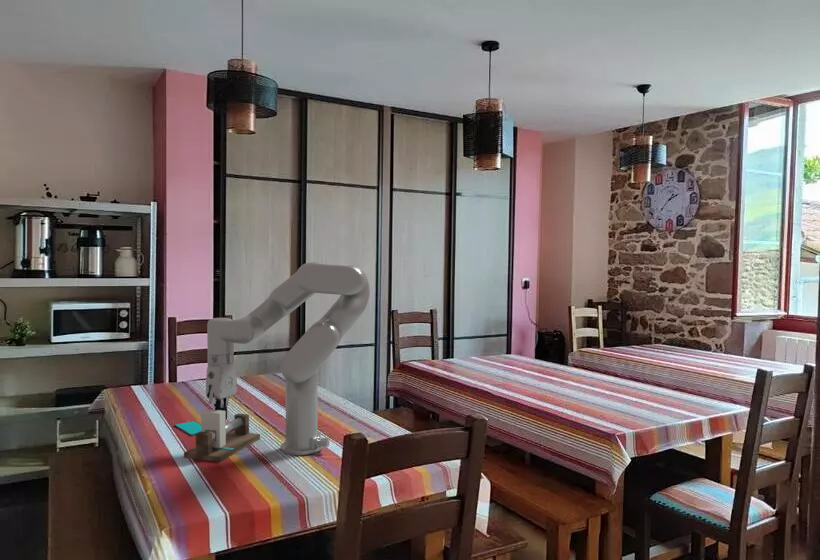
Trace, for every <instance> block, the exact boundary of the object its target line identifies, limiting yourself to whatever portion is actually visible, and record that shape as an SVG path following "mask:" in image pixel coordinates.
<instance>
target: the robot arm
mask: <svg viewBox="0 0 820 560" xmlns="http://www.w3.org/2000/svg"><path fill="white" fill-rule="evenodd" d="M370 289H371V288H370V282H369V279H368V277H367V275H366V273H365V271H364V270H363V268H361V267H359V266H357V265H353V264H352V265H351V264H350V265H339V264H338V265H337V264H326V263H325V264H323V263H318V262H315V261H313V262H306V263H303V264H302V265H300V267H299V268H298V269H297V270H296V272H294V273H293V274H291V276H290V277H288V278H287V279H286V280H284V281H283V282H282V283H281V284H280V285H278V286H277V287H275V288H274V289H273V290H272V291H271V292H270V294H269V296H268V297H267V298H266V300H265V301H263V302H262V303H261V304H260V305H259V306H257V307H256V308H255V309H254V310H253V311H251V312H250V313H249V314H247V315H246V316H243V317H242V318H239V319H232V318H229V317H214V318H210V319H209V320H208V321H207V324H206V327H207V333H206V335H207V337H206V338H207V340H206V341H207V343H206V345H207V368H206V377H205V396H206V398H207V399H208V404H211V405H213V407H214V410H222V411H226V420H227V419H228V405H229V401H230V399H231V398H232V397H233V395H235V394H236V393H237V391H238V378H237V377H238V376H237V368H236V363H235V361H234V359H235V357H234V356H235V351H234V349H235V347H234V345H235V344H237V345H238V344H240V345H247V344H250V343H252V342H253V341H255V340H256V339H258V338H259V337H260V336H262V335H263V334H264V333H266V332H267V331H269V329H270V328H272V327H273V326H274V325H276V324H277V323H278V322H279V321H280V320H282V319H283V318H285V317H286V316H289V315H290V314H291V313H292V312H293V311H295V310H297V308H298V307H300V306H301V305H302V304H303V303H305V302H306V301H307V300H308V299H310V298H311V297H312V296H314V295H315V294H322V295H323V294H326V295H338V296H339V297H338V298H337V300H336V301H335V302H334V303H333V304H332V306H330V308H329V309H328V310H327V311H326V312H325V314H323V316H322V317H320V319H318V320H317V321H316V322H315V323H313V324H312V325H311V326H310V327H309V328H308V329H307V330H306V332H305V333H304V334H303V335H302V336H301V337H299V339H298V340H297V341H296V342H295V344H294V345H293V346H292V347H291V348H290V349H289V350H288V351H287V352H286V353H285V355H284V356H283V357H282V359H281V362H280V373H281V375H282V377H283V378H284V379H285V441H284V442H283V443H281V444H280V451H281V452H282V453H283V454H285V455H290V456H291V455H292V456H306V455H312V454H315V453H318V452H320V451H321V450H322V449H323V448H324V447H326V448H327V447H330V439H329V437H322V435H321V432H318V393H319V391H318V385H319V384H318V383H319V368H320V367H321V365H323V364H324V362H325V361H326V360H327V359H328V358H329V357H330V356H331V354H333V352H334V351H335V350H336V349H337V347H338V345H339V344H340V341H341V340H342V338H343V337H344V336H345V335H346V334H347V333H348V331H349V330H350V329H351V328H352V326H353V325H354V324H355V323H356V322H357V321H358V320H359V318H361V316H362V314H363V313H364V311H365V309H366V308H367V306H368V303H369V299H370V291H371V290H370Z"/></svg>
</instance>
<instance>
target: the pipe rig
mask: <svg viewBox="0 0 820 560" xmlns="http://www.w3.org/2000/svg"><path fill="white" fill-rule="evenodd" d="M260 439H261V433H253V432H250V414H245V413H236V414H234V418H233V419H232V420H230V421H228V422H226V445H224V446H223V447H221V448H216V447H212V441H214V440H216V431H214V430H211V431H209V432H201V431H200V432H198V433H196V435H195V446H193V447H192V448H191V449H188V450H186V451H185V452H183V458H184V459H191V460H192V459H193V460H198V461H199V460H201V461H210V462H217V463H221V462H223V461H225V460H227V459H228V458H229V457H231V456H233V455H235V454H237V453H238V452H240V451H242V450H243V449H245V448H247V447H248V446H250V445H252V444H254V443H256V442H257V441H259V440H260Z"/></svg>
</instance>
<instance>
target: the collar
mask: <svg viewBox="0 0 820 560" xmlns="http://www.w3.org/2000/svg"><path fill="white" fill-rule="evenodd" d="M200 415H201V416H200V417H201V419H200V421H201V422H200V424H201V432H209V431H211V430H214V431H216V440H214V441H212V447H216V448H221V447H223V446H224V445H226V423H227V422H226V420H227V419H226V411H222V410H215V409H204V410H202V411H201V412H200Z"/></svg>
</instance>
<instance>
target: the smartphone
mask: <svg viewBox="0 0 820 560" xmlns="http://www.w3.org/2000/svg"><path fill="white" fill-rule="evenodd" d="M175 426H176V427H177V428H176V427H175ZM173 427H175V428H176V429H178V428H179V429H178V430H180V429H181V430H182V431H181V430H180V431H181V432H183V431H184V432H183V433H185V434H186V433H187V435H188V434H189V436H190V437H194V436H193V435H195V436H196V433H198V432H200V431H201V423H199V422H197V421H196V420H192V421H186V422H182V423H176V424H174V425H173Z"/></svg>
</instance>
